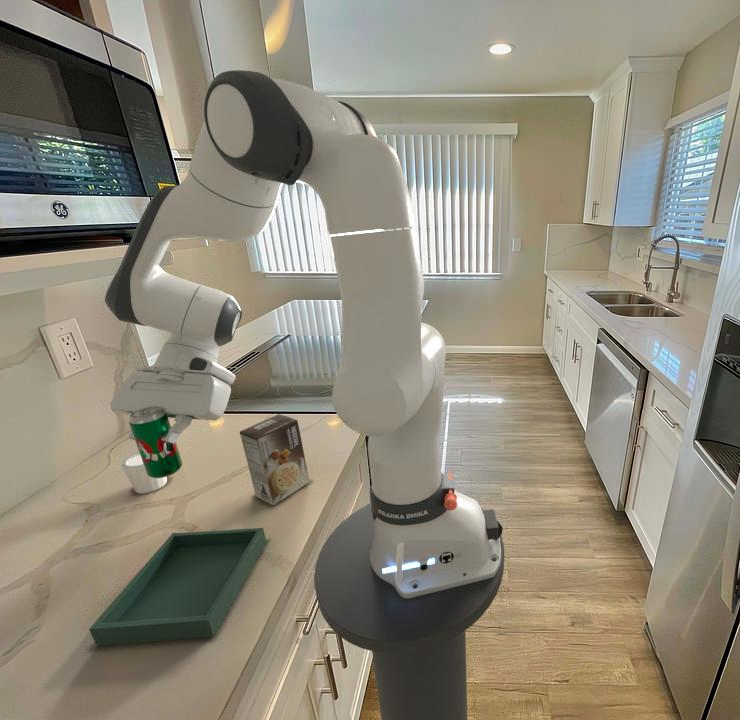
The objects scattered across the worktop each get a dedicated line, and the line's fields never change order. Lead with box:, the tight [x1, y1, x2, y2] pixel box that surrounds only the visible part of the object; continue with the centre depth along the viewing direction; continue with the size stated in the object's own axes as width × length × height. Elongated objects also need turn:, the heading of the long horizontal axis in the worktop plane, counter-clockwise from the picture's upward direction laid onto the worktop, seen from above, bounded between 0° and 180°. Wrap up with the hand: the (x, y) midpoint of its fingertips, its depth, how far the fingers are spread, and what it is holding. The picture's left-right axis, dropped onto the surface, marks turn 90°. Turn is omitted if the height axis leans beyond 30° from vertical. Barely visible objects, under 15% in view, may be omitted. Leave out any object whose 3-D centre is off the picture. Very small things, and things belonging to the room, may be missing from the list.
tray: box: [88, 527, 267, 647], centre depth 63 cm, size 16×18×3 cm
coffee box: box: [239, 413, 310, 506], centre depth 84 cm, size 9×6×16 cm
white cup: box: [121, 452, 168, 494], centre depth 87 cm, size 7×7×7 cm
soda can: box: [128, 406, 183, 478], centre depth 69 cm, size 5×5×12 cm
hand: (151, 441), depth 68 cm, fingers closed on soda can, 5 cm apart
